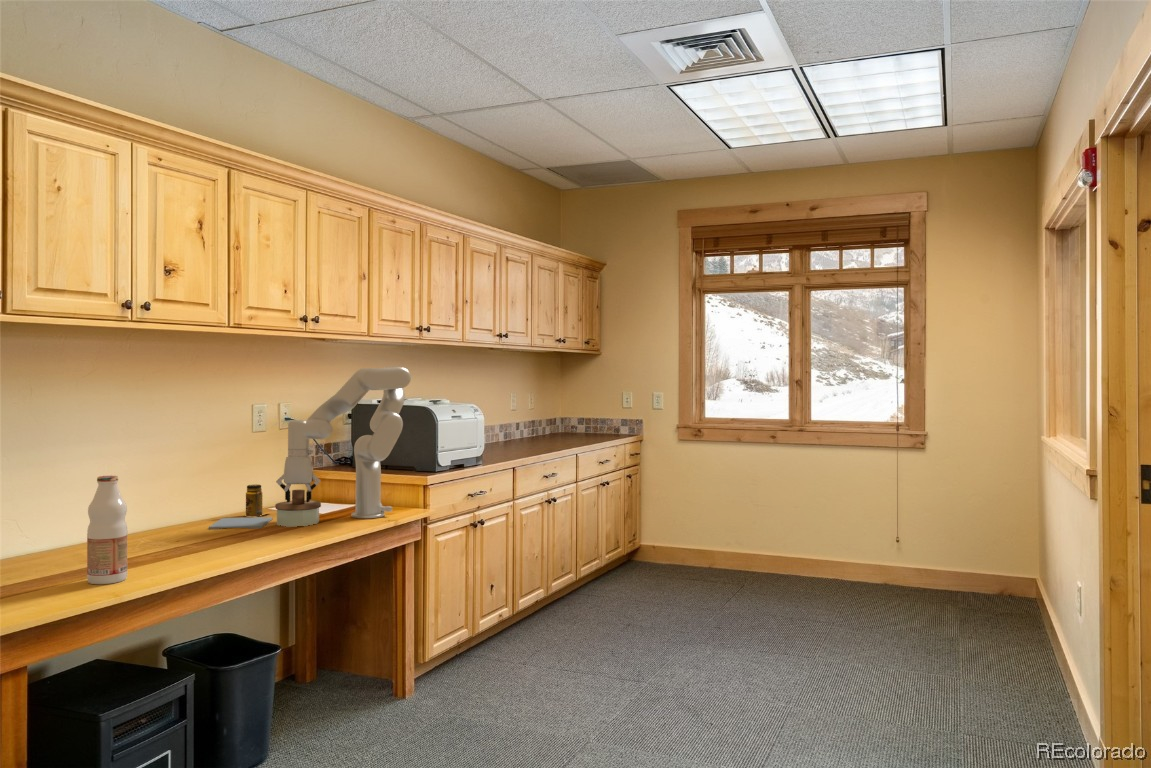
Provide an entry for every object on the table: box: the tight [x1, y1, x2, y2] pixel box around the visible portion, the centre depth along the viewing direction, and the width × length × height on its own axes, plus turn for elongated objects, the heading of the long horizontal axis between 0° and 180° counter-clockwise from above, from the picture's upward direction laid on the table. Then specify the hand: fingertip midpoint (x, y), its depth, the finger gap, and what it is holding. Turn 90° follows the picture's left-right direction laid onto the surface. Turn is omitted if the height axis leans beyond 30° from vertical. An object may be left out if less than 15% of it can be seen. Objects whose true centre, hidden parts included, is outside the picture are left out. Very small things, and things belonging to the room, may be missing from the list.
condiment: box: [245, 484, 263, 516], centre depth 323 cm, size 7×8×12 cm
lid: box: [274, 489, 322, 511], centre depth 308 cm, size 16×16×6 cm
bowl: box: [276, 507, 320, 528], centre depth 308 cm, size 14×14×6 cm
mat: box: [208, 516, 273, 530], centre depth 305 cm, size 18×18×1 cm
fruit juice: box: [86, 475, 128, 585], centre depth 223 cm, size 9×9×28 cm
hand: (298, 501), depth 308 cm, fingers open, 6 cm apart
